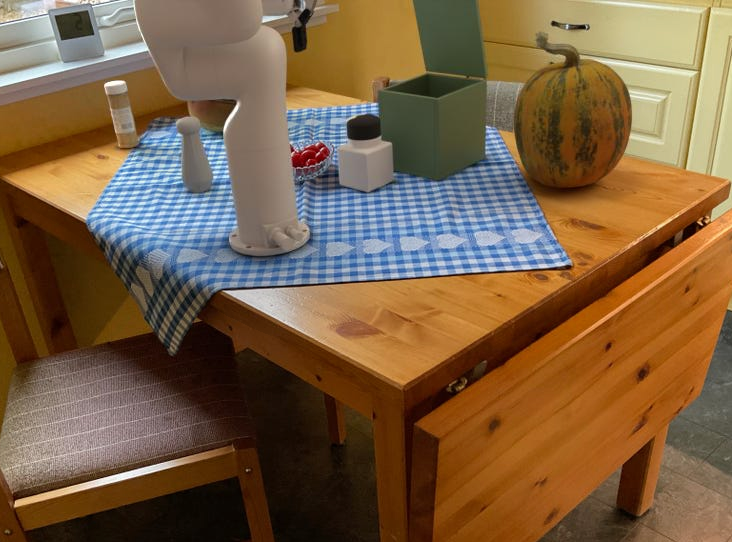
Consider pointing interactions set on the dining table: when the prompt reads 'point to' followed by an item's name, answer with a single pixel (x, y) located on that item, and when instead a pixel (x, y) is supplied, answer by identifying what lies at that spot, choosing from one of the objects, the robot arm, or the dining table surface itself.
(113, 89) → the sprinkles bottle
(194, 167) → the salt shaker
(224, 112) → the ceramic pitcher
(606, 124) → the pumpkin
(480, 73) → the lid
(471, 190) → the dining table surface
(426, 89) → the chest
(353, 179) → the medicine bottle
